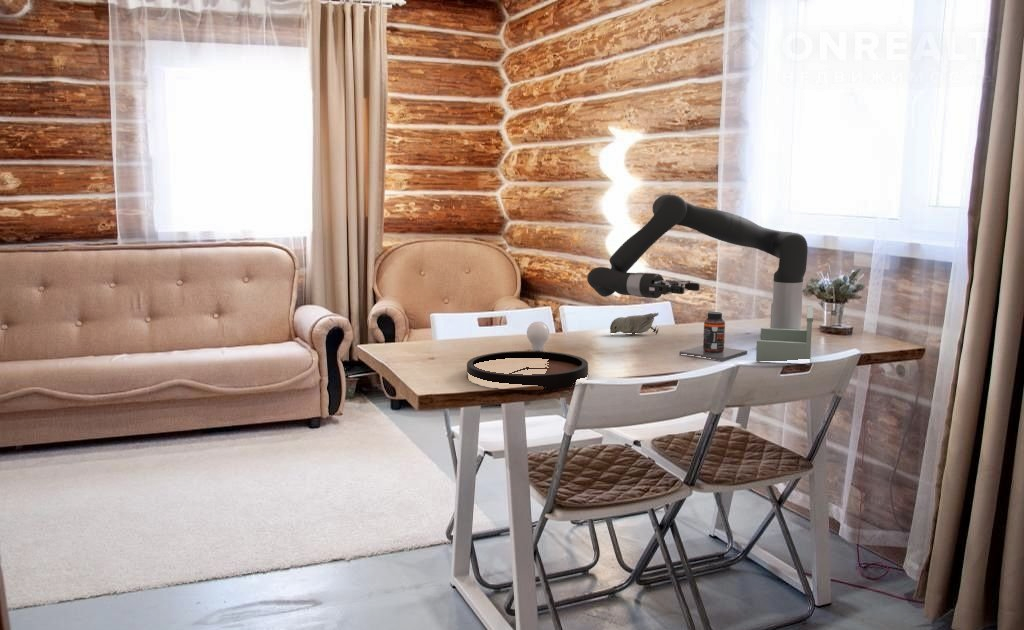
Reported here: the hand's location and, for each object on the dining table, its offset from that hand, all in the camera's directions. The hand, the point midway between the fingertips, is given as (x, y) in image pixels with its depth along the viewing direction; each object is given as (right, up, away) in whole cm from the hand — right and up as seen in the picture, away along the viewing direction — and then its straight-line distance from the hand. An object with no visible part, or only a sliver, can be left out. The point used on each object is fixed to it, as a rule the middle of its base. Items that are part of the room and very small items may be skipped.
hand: (691, 288), depth 252 cm
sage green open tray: (+25, -20, -5) cm, 32 cm away
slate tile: (+6, -19, -3) cm, 20 cm away
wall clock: (-49, -24, -29) cm, 62 cm away
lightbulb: (-45, -21, -9) cm, 51 cm away
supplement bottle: (+6, -18, -3) cm, 19 cm away
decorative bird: (-12, -15, +30) cm, 36 cm away
